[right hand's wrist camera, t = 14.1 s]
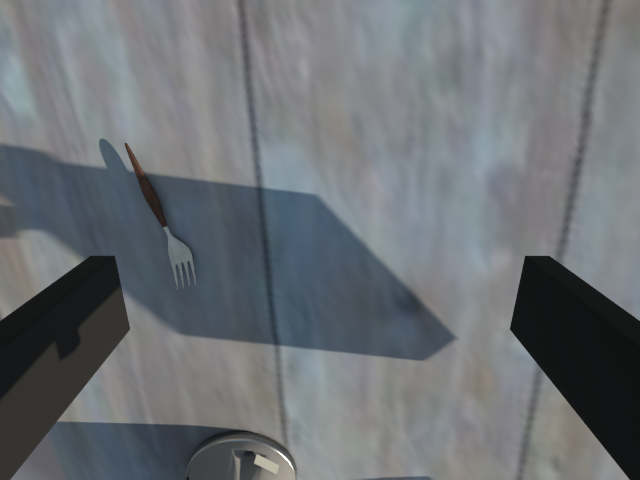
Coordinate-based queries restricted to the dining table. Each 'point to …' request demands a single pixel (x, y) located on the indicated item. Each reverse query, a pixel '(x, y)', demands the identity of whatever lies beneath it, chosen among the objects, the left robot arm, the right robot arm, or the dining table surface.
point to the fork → (164, 224)
